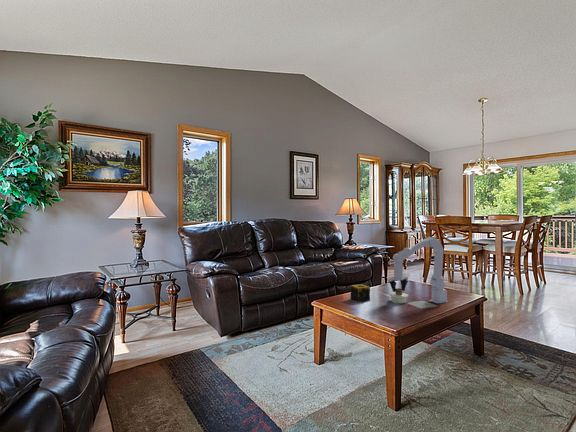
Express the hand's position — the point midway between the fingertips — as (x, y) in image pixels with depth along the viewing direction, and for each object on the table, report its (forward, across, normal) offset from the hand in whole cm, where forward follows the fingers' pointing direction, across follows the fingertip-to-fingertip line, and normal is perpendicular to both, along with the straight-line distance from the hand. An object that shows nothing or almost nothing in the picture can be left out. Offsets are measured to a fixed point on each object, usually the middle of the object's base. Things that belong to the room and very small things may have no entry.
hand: (398, 291), depth 220 cm
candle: (+8, -21, +15) cm, 27 cm away
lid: (+3, 0, 0) cm, 3 cm away
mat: (+8, +9, -12) cm, 17 cm away
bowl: (+8, 0, 0) cm, 8 cm away
